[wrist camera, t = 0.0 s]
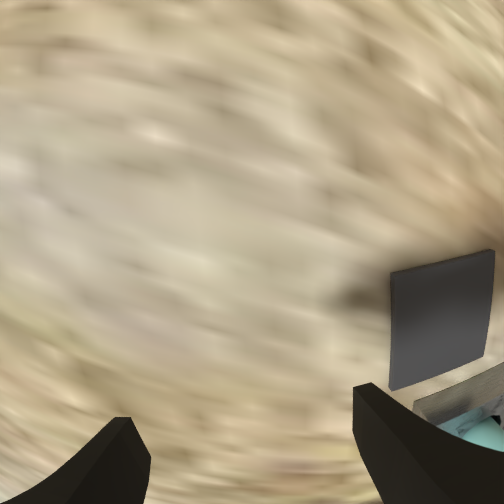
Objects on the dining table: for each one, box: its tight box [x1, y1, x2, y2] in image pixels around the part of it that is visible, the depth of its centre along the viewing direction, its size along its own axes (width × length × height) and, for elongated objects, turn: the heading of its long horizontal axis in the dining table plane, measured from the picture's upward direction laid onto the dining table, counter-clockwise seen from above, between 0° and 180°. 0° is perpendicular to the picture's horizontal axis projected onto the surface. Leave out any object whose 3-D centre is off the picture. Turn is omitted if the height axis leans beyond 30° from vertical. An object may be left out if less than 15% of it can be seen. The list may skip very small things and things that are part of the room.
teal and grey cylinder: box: [462, 416, 504, 452], centre depth 19 cm, size 4×4×8 cm
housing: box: [412, 362, 504, 438], centre depth 21 cm, size 10×12×4 cm
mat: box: [389, 249, 495, 391], centre depth 20 cm, size 9×9×1 cm
